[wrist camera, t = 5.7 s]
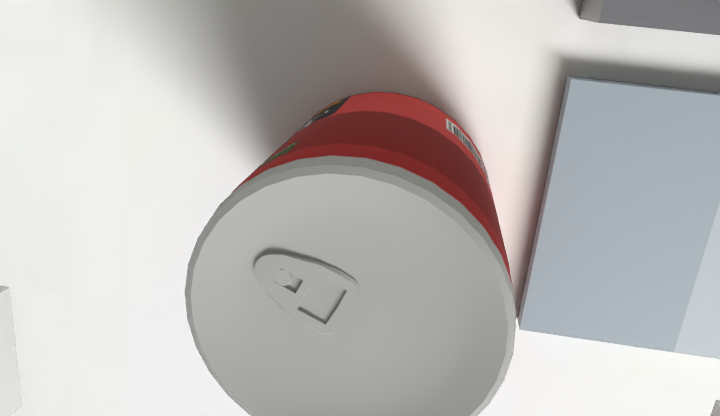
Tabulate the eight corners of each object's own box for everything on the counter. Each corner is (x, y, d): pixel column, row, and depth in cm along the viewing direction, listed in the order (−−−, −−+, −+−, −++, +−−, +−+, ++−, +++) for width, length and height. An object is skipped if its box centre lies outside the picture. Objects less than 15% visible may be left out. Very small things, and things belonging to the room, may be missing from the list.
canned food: (310, 64, 24) (206, 120, 13) (516, 120, 23) (572, 222, 13) (272, 244, 26) (160, 407, 16) (456, 296, 26) (462, 497, 16)
